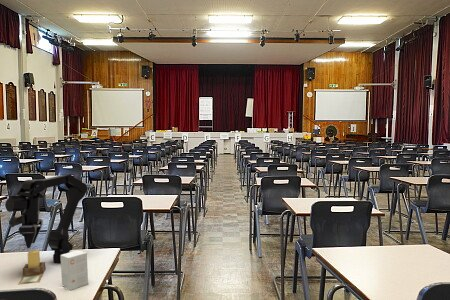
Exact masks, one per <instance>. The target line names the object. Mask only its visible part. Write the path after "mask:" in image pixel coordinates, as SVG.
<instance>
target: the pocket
mask: <svg viewBox="0 0 450 300" xmlns="http://www.w3.org/2000/svg"><path fill="white" fill-rule="evenodd" d="M46 269H47V268H46V261H40V267H34V268H28V263H25V265H24V266H23V268H22V277H23V276H33V275H40V274H43V273H45V271H46ZM43 275H44V274H43Z"/></svg>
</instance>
